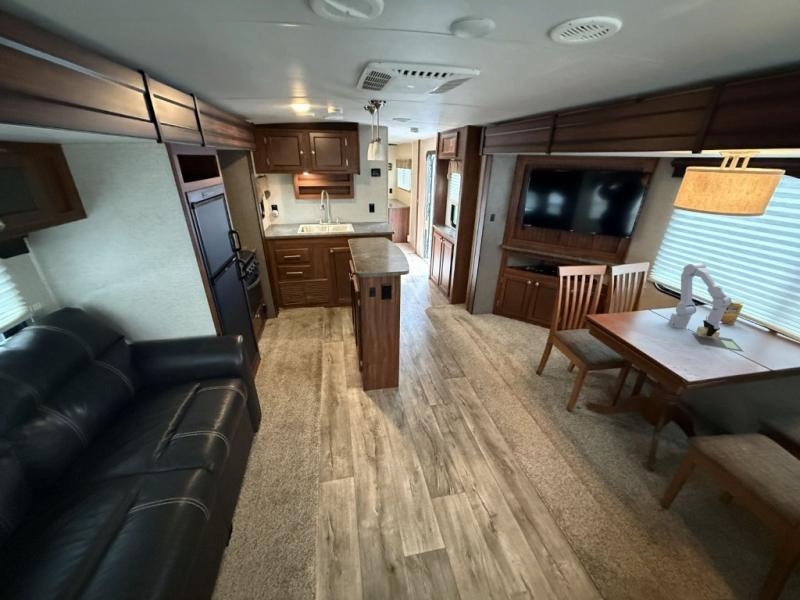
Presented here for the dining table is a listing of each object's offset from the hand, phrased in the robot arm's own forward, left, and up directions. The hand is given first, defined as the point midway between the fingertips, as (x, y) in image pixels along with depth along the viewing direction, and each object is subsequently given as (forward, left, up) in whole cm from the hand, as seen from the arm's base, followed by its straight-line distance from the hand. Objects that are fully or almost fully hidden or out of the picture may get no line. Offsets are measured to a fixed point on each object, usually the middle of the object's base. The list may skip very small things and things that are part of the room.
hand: (707, 333), depth 195 cm
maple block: (0, 0, -1) cm, 1 cm away
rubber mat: (+4, -4, -3) cm, 6 cm away
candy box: (+20, +33, -4) cm, 39 cm away
